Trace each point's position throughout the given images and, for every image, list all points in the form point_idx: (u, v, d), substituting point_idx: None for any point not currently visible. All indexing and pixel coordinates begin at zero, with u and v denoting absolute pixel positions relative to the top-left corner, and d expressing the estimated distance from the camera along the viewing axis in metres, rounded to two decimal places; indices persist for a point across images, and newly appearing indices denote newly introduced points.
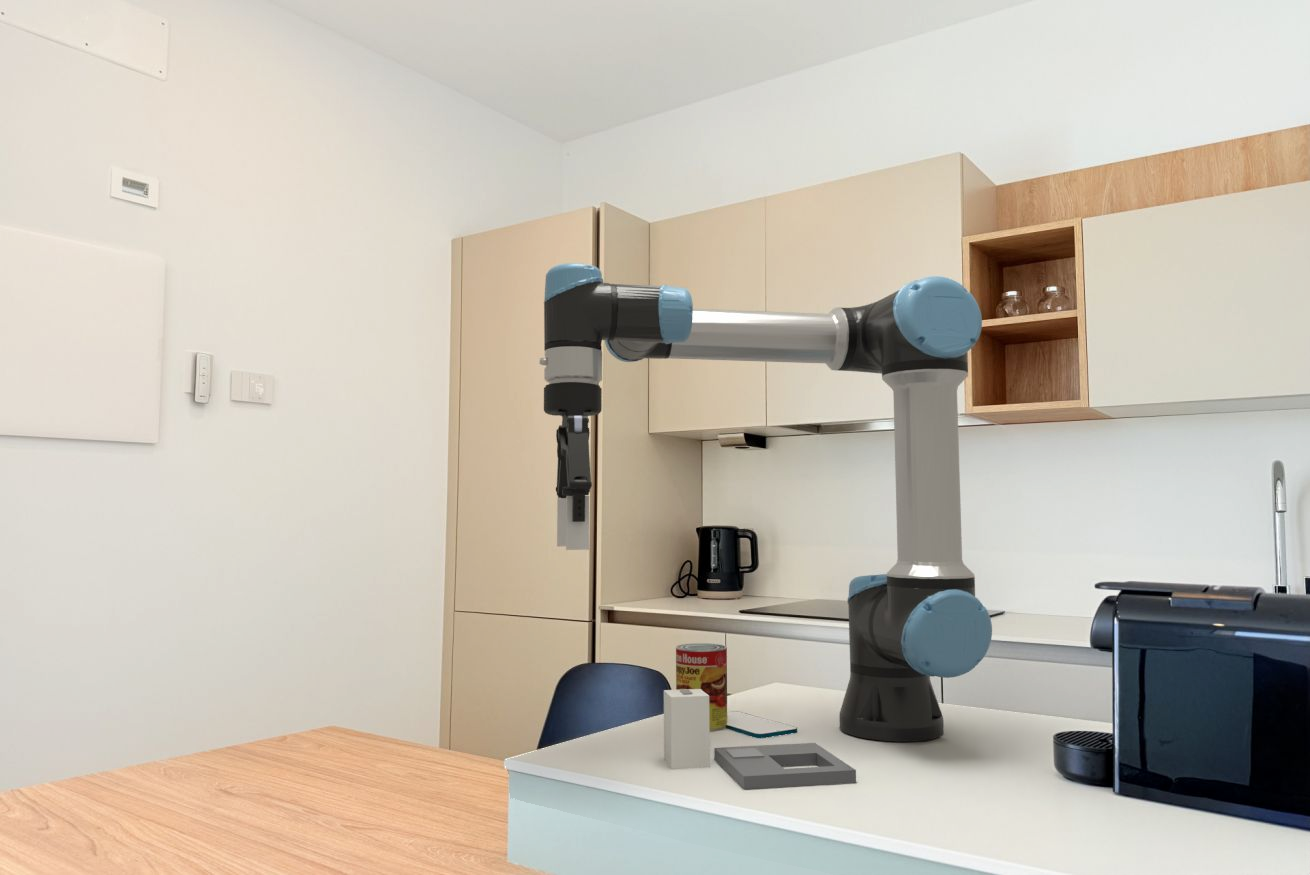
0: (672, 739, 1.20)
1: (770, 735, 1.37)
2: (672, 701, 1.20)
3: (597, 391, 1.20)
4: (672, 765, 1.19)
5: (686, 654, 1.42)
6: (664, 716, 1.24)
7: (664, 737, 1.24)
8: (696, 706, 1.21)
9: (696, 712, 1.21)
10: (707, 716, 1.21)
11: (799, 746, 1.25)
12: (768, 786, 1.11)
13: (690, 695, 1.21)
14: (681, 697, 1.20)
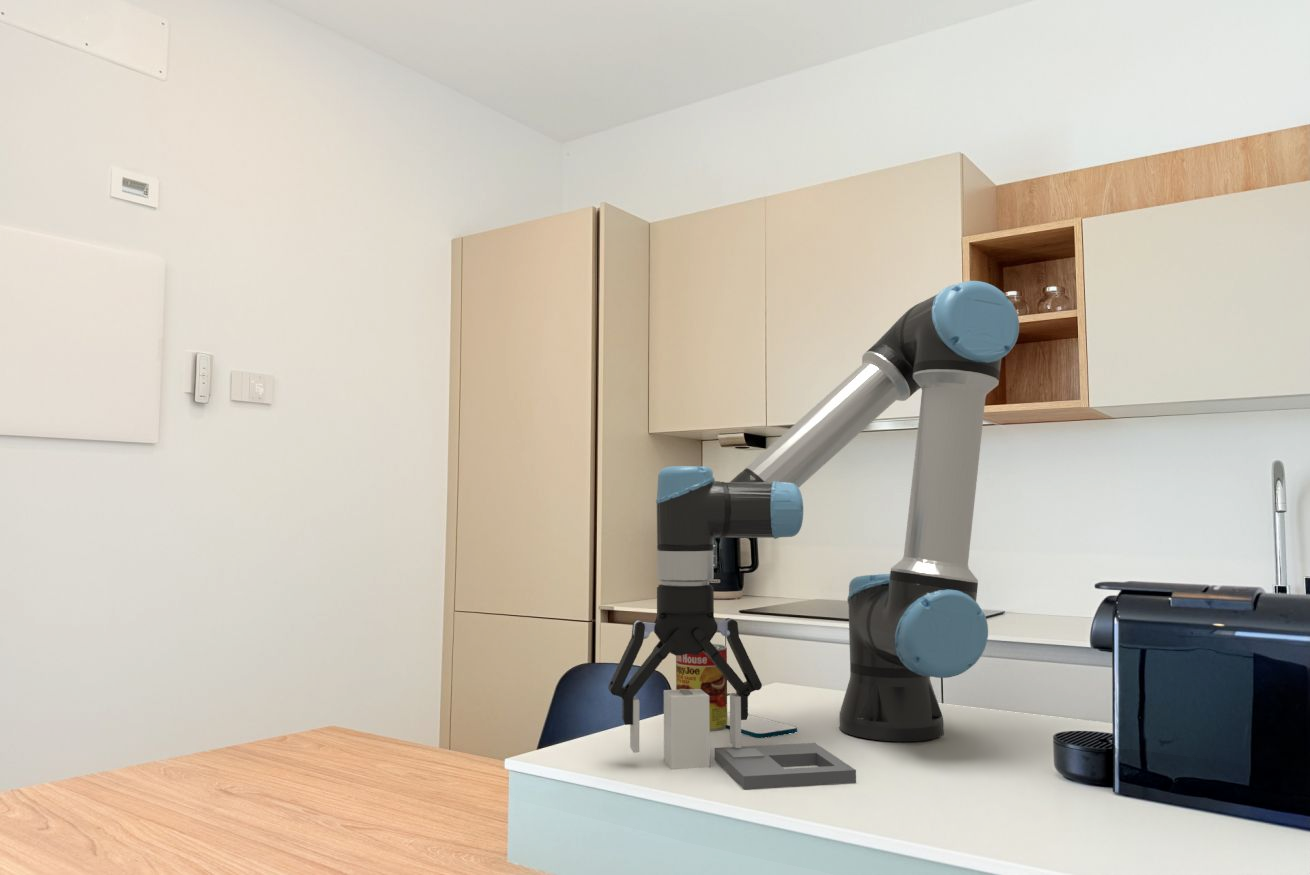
0: (672, 739, 1.20)
1: (770, 735, 1.37)
2: (672, 701, 1.20)
3: (671, 594, 1.21)
4: (672, 765, 1.19)
5: (686, 654, 1.42)
6: (664, 716, 1.24)
7: (664, 737, 1.24)
8: (696, 706, 1.21)
9: (696, 712, 1.21)
10: (707, 716, 1.21)
11: (799, 746, 1.25)
12: (768, 786, 1.11)
13: (690, 695, 1.21)
14: (681, 697, 1.20)
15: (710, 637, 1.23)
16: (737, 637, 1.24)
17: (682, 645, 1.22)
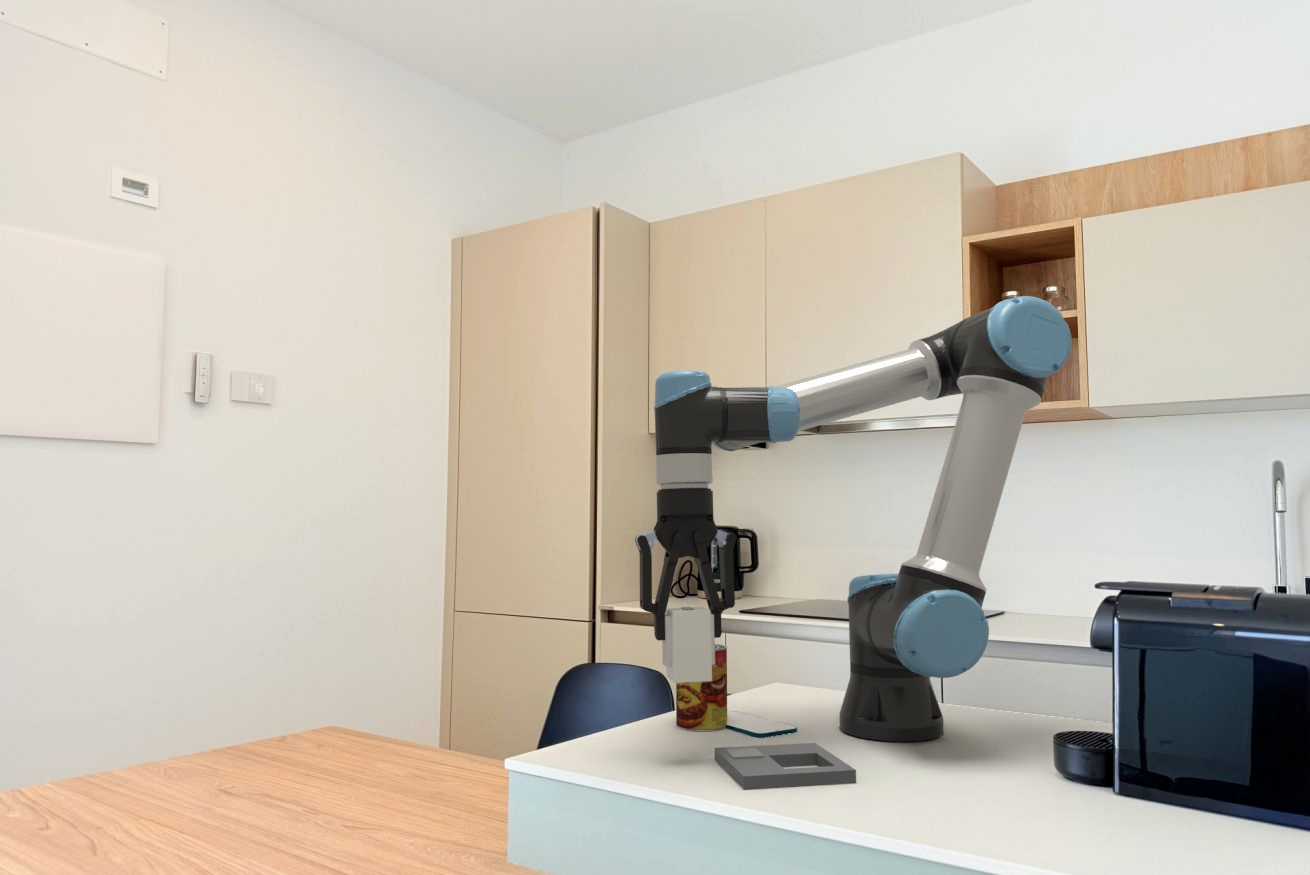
0: (674, 653, 1.21)
1: (770, 734, 1.37)
2: (674, 616, 1.21)
3: (671, 496, 1.22)
4: (675, 679, 1.20)
5: None
6: None
7: None
8: (697, 621, 1.22)
9: (698, 627, 1.22)
10: (709, 631, 1.22)
11: (799, 746, 1.25)
12: (768, 786, 1.11)
13: (691, 610, 1.22)
14: (683, 612, 1.21)
15: (710, 540, 1.24)
16: (731, 550, 1.25)
17: (683, 547, 1.23)
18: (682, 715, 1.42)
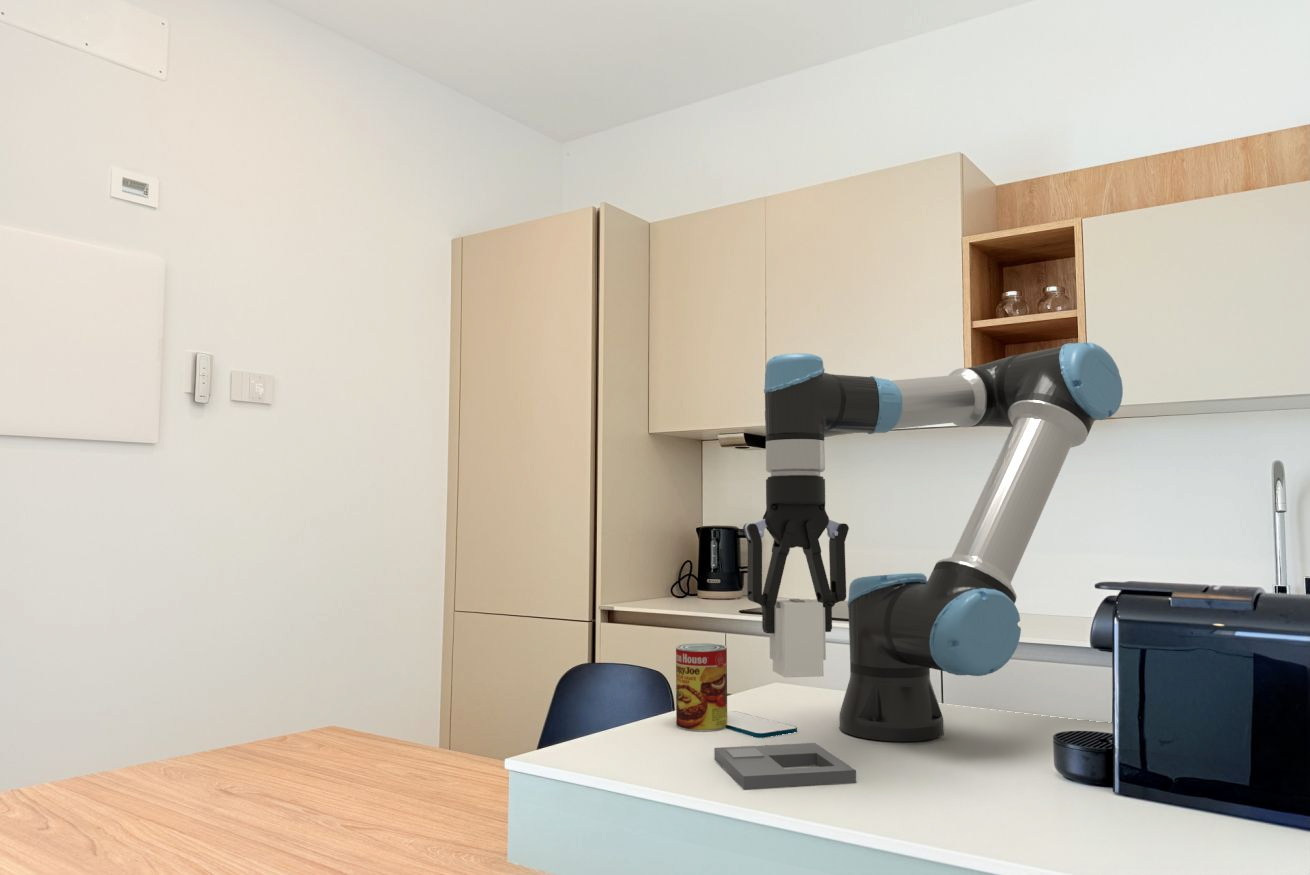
0: (785, 646, 1.16)
1: (770, 734, 1.37)
2: (785, 607, 1.16)
3: (784, 483, 1.17)
4: (785, 673, 1.16)
5: (686, 654, 1.42)
6: None
7: None
8: (809, 613, 1.17)
9: (810, 620, 1.17)
10: (821, 624, 1.17)
11: (799, 746, 1.25)
12: (768, 786, 1.11)
13: (803, 602, 1.17)
14: (794, 604, 1.17)
15: (822, 530, 1.19)
16: (842, 542, 1.20)
17: (794, 537, 1.19)
18: (682, 716, 1.42)
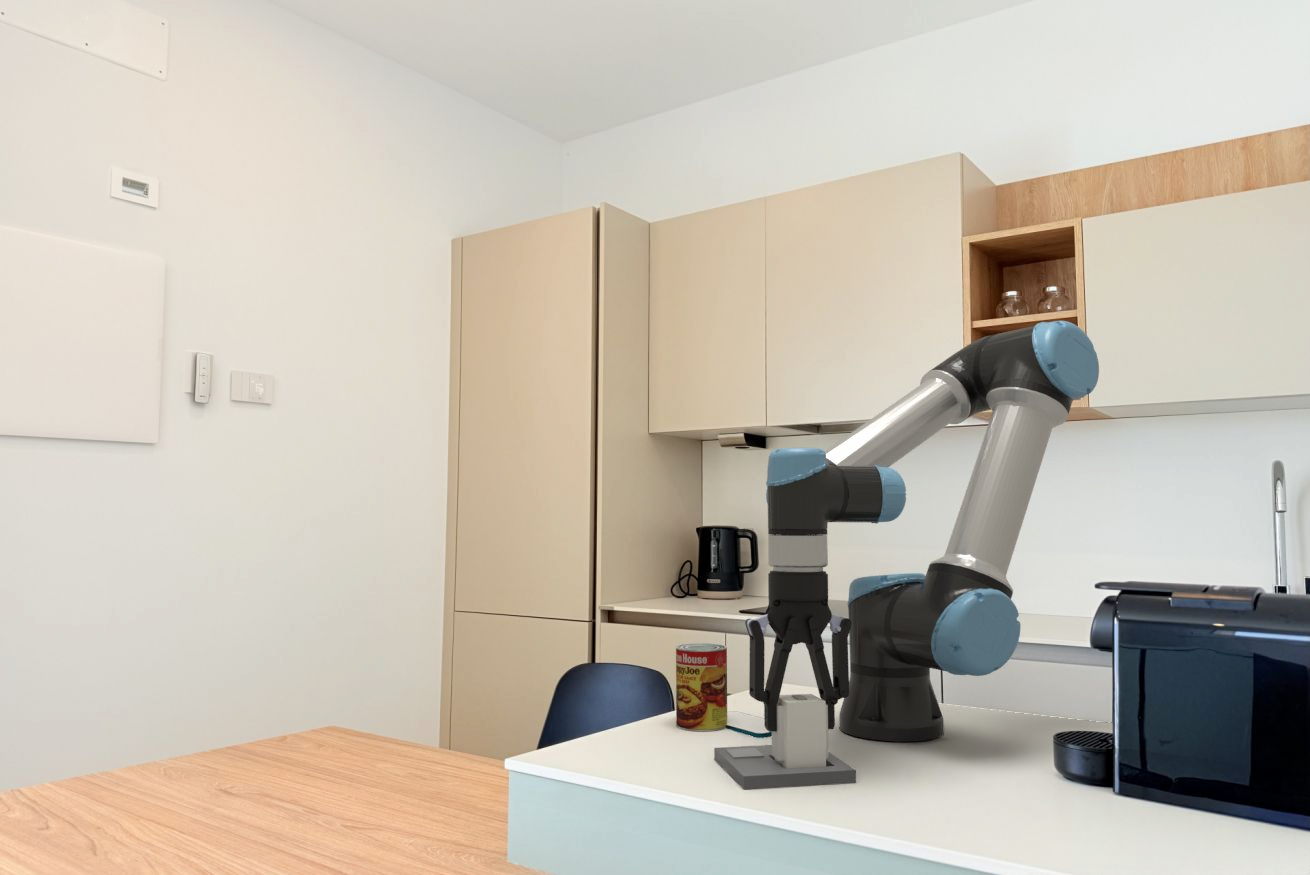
0: (788, 746, 1.15)
1: (770, 734, 1.37)
2: (788, 707, 1.15)
3: (787, 580, 1.16)
4: None
5: (686, 654, 1.42)
6: None
7: None
8: (812, 712, 1.16)
9: (812, 719, 1.16)
10: (823, 723, 1.16)
11: None
12: (768, 786, 1.11)
13: (805, 700, 1.16)
14: (797, 702, 1.15)
15: (825, 625, 1.18)
16: (845, 637, 1.19)
17: (796, 634, 1.18)
18: (682, 715, 1.42)
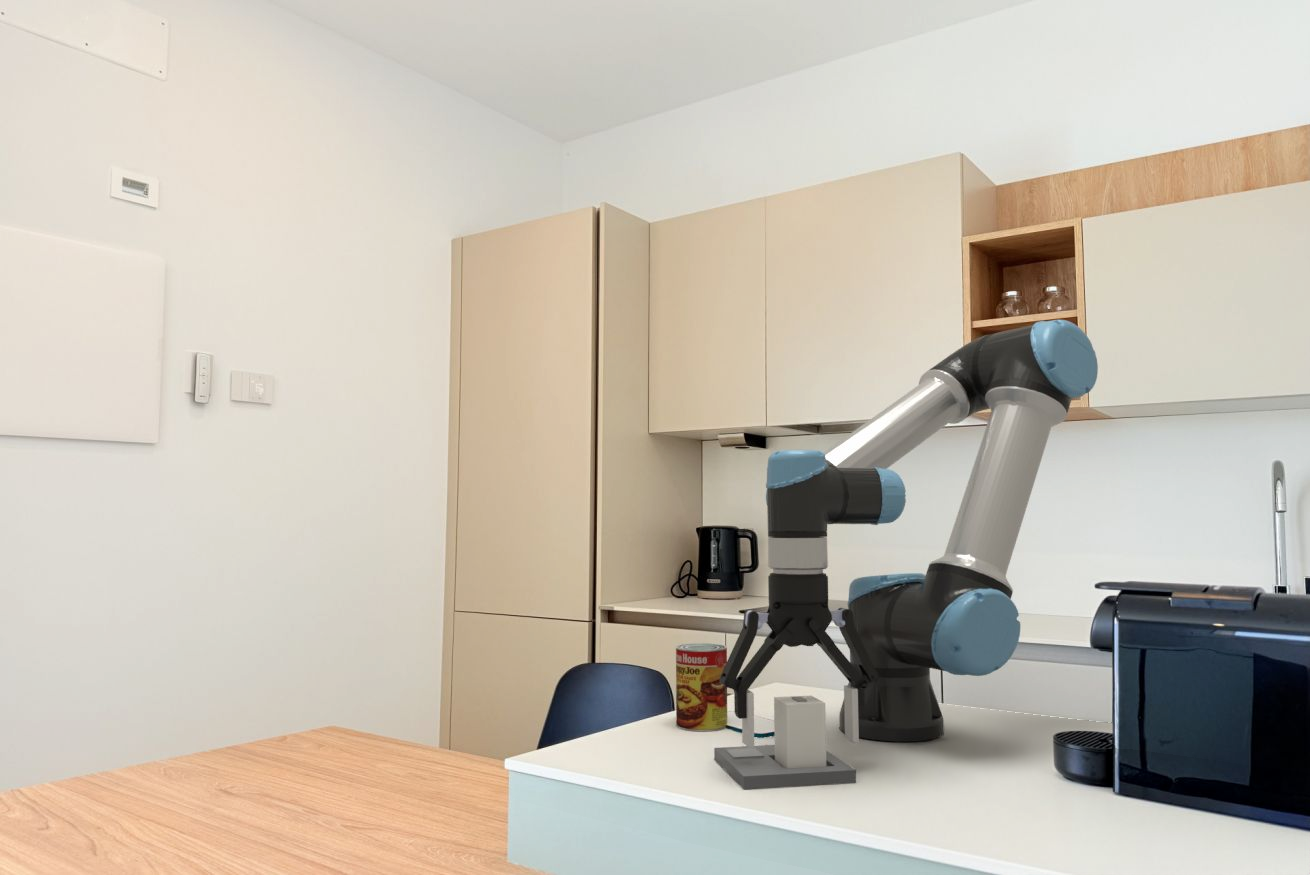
0: (788, 748, 1.15)
1: (771, 735, 1.37)
2: (787, 709, 1.15)
3: (787, 583, 1.16)
4: None
5: (686, 654, 1.42)
6: (775, 724, 1.19)
7: (775, 746, 1.19)
8: (811, 714, 1.16)
9: (812, 720, 1.16)
10: (823, 724, 1.16)
11: None
12: (768, 786, 1.11)
13: (805, 702, 1.16)
14: (796, 704, 1.15)
15: (825, 627, 1.18)
16: (853, 627, 1.19)
17: (797, 636, 1.18)
18: (682, 715, 1.42)
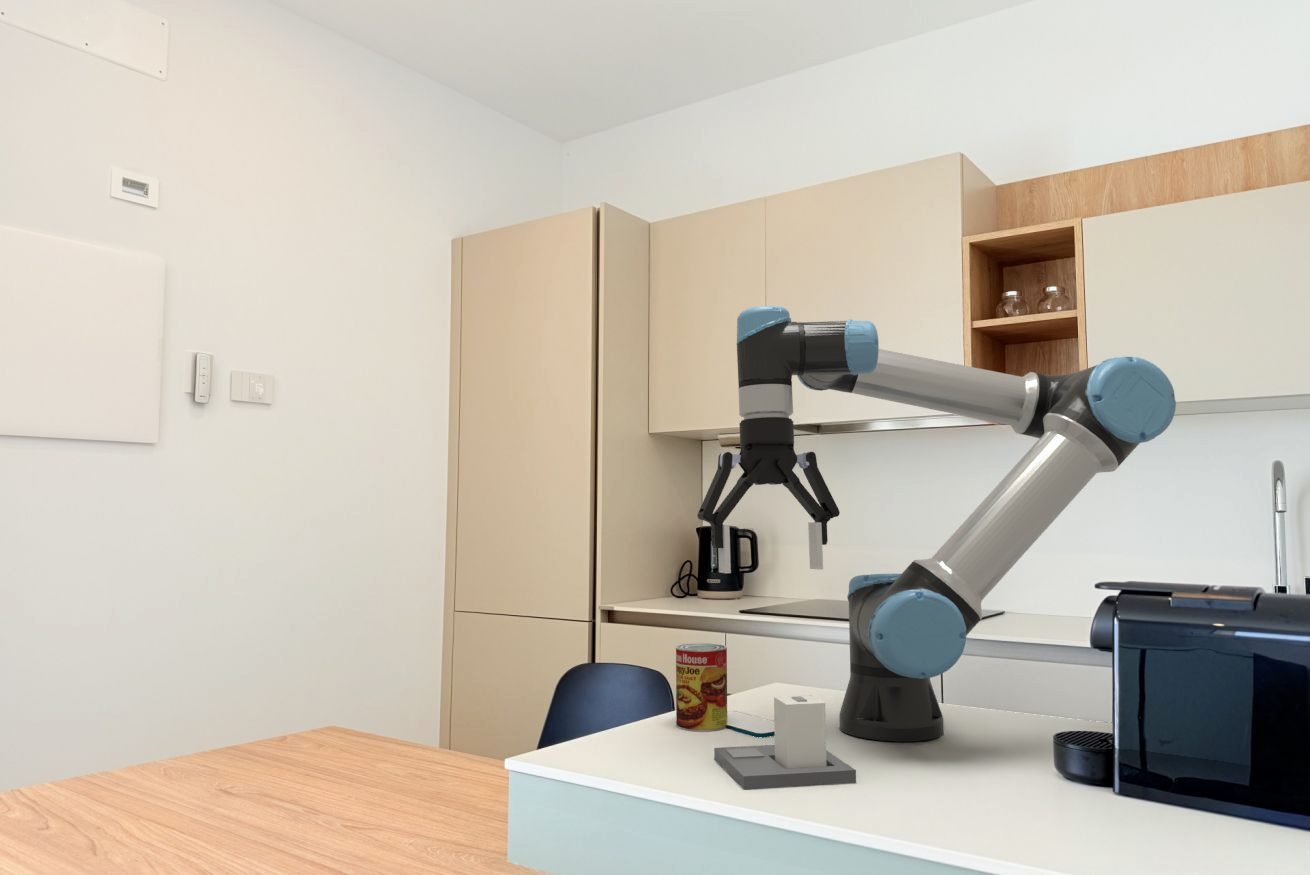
0: (788, 748, 1.15)
1: (771, 734, 1.37)
2: (787, 709, 1.15)
3: (758, 424, 1.28)
4: None
5: (686, 654, 1.42)
6: (775, 724, 1.19)
7: (775, 746, 1.19)
8: (811, 714, 1.16)
9: (812, 720, 1.16)
10: (823, 724, 1.16)
11: None
12: (768, 786, 1.11)
13: (805, 702, 1.16)
14: (797, 704, 1.15)
15: (791, 467, 1.31)
16: (816, 467, 1.32)
17: (767, 474, 1.30)
18: (682, 716, 1.42)
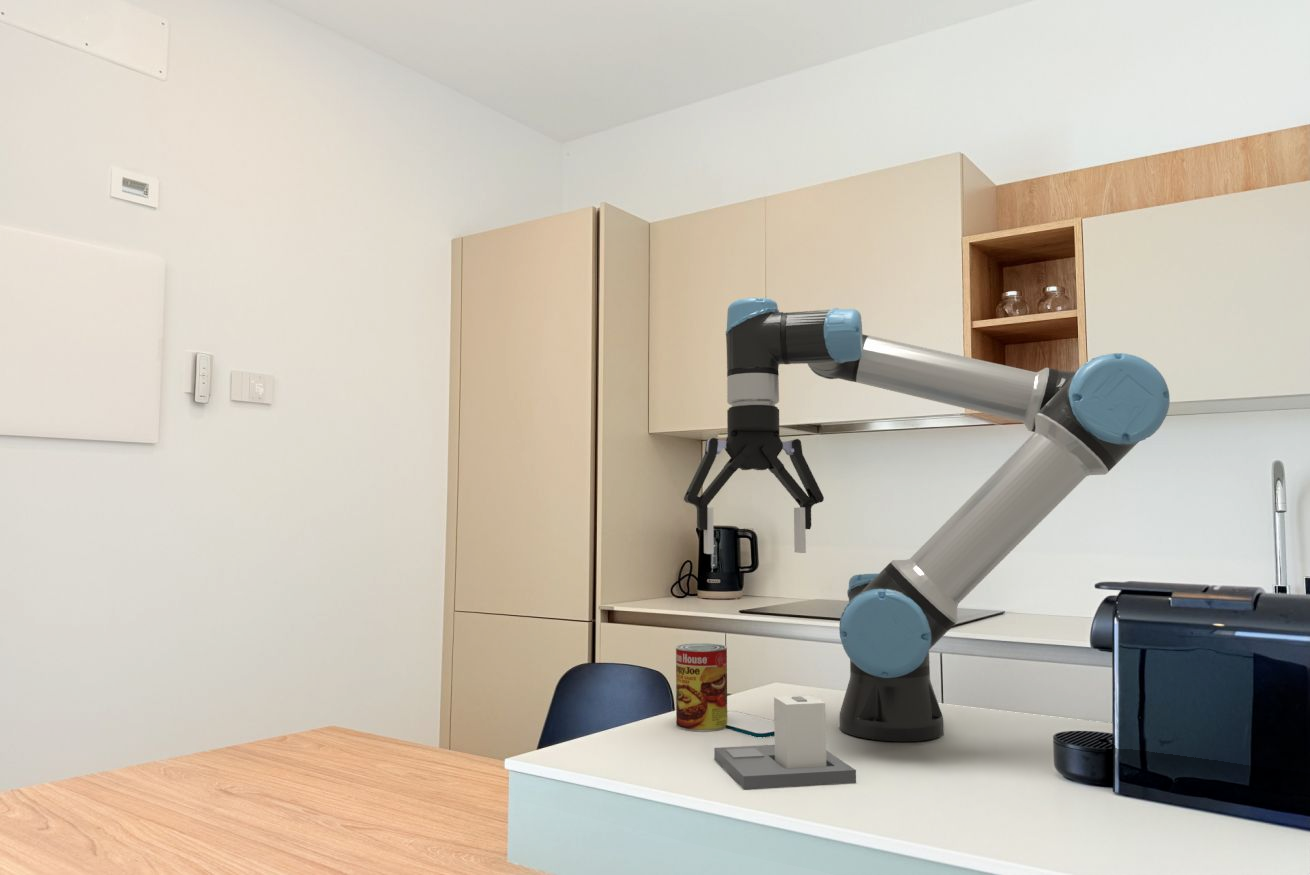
0: (788, 748, 1.15)
1: (771, 734, 1.37)
2: (787, 709, 1.15)
3: (742, 412, 1.33)
4: None
5: (686, 654, 1.42)
6: (775, 724, 1.19)
7: (775, 746, 1.19)
8: (811, 714, 1.16)
9: (812, 720, 1.16)
10: (823, 724, 1.16)
11: None
12: (768, 786, 1.11)
13: (805, 702, 1.16)
14: (796, 704, 1.15)
15: (776, 454, 1.35)
16: (801, 454, 1.36)
17: (751, 460, 1.35)
18: (682, 715, 1.42)
